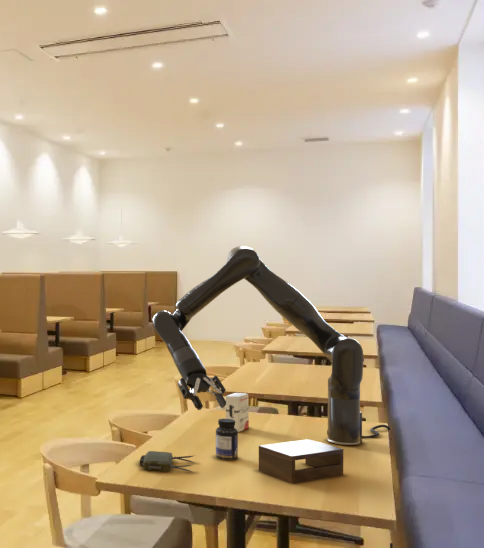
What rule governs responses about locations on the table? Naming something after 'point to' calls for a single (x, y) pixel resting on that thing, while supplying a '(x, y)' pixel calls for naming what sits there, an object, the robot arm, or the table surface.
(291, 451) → the shelf
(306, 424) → the table surface
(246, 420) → the ink box
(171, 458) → the landmine
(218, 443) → the pill bottle
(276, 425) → the table surface
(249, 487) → the table surface
